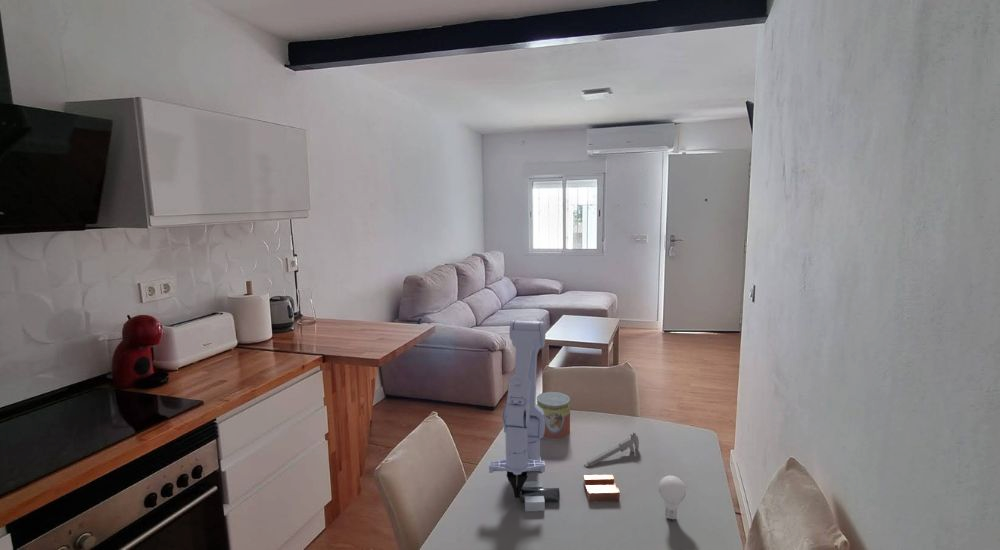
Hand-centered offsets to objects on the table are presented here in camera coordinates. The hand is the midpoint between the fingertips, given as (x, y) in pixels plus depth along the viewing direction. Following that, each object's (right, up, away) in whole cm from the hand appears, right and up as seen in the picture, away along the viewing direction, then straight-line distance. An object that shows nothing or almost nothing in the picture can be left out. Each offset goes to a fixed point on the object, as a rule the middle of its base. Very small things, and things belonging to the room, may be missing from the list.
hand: (517, 495), depth 127 cm
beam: (+4, -1, 0) cm, 5 cm away
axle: (+6, -1, 0) cm, 6 cm away
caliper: (+30, +2, +20) cm, 36 cm away
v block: (+23, -1, +3) cm, 23 cm away
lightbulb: (+38, -2, -8) cm, 39 cm away
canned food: (+14, +5, +37) cm, 40 cm away
